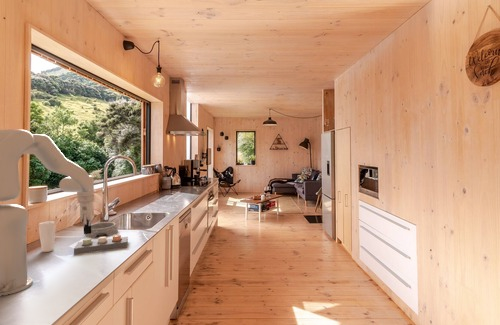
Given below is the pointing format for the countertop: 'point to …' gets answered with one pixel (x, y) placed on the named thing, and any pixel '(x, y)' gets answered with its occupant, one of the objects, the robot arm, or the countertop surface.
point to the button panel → (100, 246)
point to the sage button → (87, 242)
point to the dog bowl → (102, 229)
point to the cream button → (102, 240)
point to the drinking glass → (47, 235)
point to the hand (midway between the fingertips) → (87, 233)
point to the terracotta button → (116, 238)
